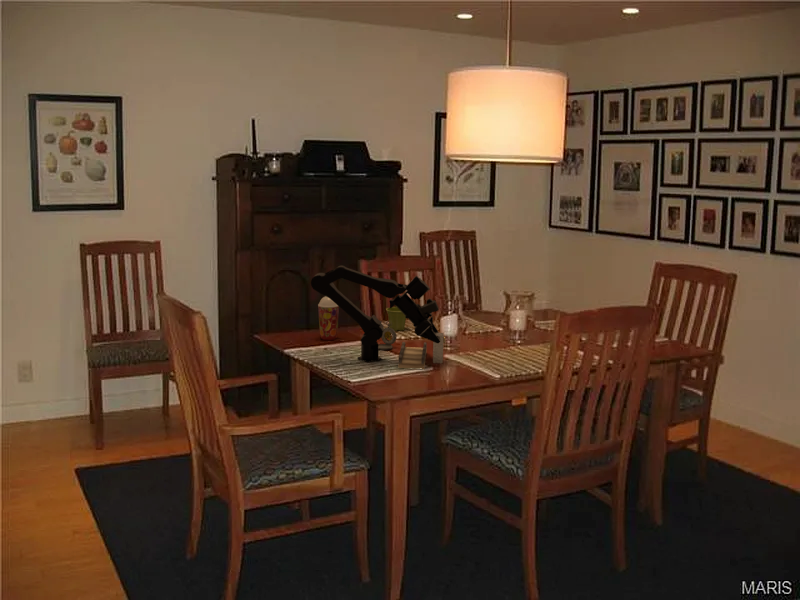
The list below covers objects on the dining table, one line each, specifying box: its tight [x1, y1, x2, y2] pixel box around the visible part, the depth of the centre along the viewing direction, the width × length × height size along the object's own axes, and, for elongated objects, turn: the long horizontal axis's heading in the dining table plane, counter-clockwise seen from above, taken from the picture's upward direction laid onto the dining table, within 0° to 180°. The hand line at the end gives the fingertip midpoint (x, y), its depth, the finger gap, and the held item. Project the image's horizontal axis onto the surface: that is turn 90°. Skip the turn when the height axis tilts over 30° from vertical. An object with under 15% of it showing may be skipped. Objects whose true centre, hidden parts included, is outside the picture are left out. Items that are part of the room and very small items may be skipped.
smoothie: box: [317, 296, 340, 341], centre depth 339 cm, size 8×8×20 cm
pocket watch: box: [378, 320, 398, 351], centre depth 326 cm, size 8×8×10 cm
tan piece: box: [397, 341, 428, 370], centre depth 309 cm, size 24×9×4 cm, turn 177°
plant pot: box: [385, 306, 407, 332], centre depth 359 cm, size 9×9×9 cm
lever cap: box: [432, 332, 447, 364], centre depth 307 cm, size 4×5×10 cm
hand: (439, 339), depth 307 cm, fingers open, 9 cm apart
